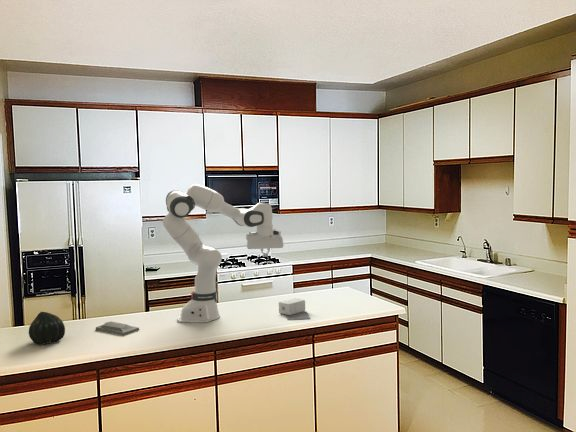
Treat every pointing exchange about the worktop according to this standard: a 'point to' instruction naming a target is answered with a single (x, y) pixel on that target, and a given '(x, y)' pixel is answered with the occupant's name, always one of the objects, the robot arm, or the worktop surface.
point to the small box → (291, 306)
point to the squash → (46, 328)
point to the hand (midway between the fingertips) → (265, 256)
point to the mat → (298, 316)
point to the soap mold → (117, 328)
